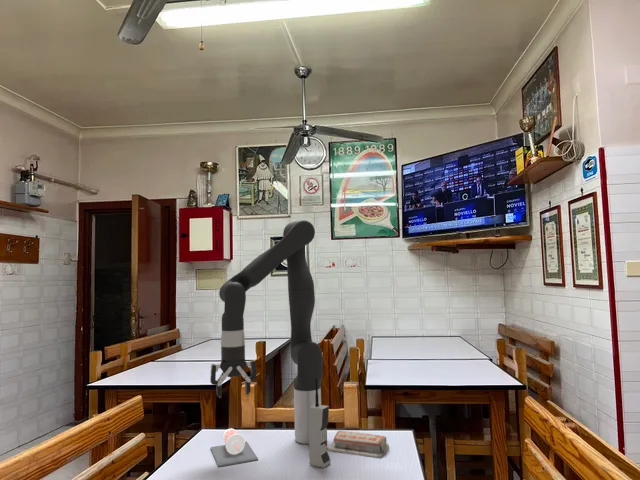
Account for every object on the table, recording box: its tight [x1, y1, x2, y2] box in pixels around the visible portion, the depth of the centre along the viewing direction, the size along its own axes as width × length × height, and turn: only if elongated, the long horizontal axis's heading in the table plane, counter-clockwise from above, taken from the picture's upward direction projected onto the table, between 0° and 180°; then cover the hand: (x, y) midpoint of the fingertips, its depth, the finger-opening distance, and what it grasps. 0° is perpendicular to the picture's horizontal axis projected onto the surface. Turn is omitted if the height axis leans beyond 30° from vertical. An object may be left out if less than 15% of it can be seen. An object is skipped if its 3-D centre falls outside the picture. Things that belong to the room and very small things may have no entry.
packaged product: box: [327, 430, 390, 459], centre depth 145 cm, size 18×5×10 cm
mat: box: [210, 441, 259, 468], centre depth 143 cm, size 12×16×1 cm
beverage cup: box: [222, 428, 246, 455], centre depth 143 cm, size 6×6×14 cm
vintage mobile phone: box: [308, 378, 331, 469], centre depth 134 cm, size 4×5×25 cm
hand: (233, 395), depth 144 cm, fingers open, 8 cm apart
